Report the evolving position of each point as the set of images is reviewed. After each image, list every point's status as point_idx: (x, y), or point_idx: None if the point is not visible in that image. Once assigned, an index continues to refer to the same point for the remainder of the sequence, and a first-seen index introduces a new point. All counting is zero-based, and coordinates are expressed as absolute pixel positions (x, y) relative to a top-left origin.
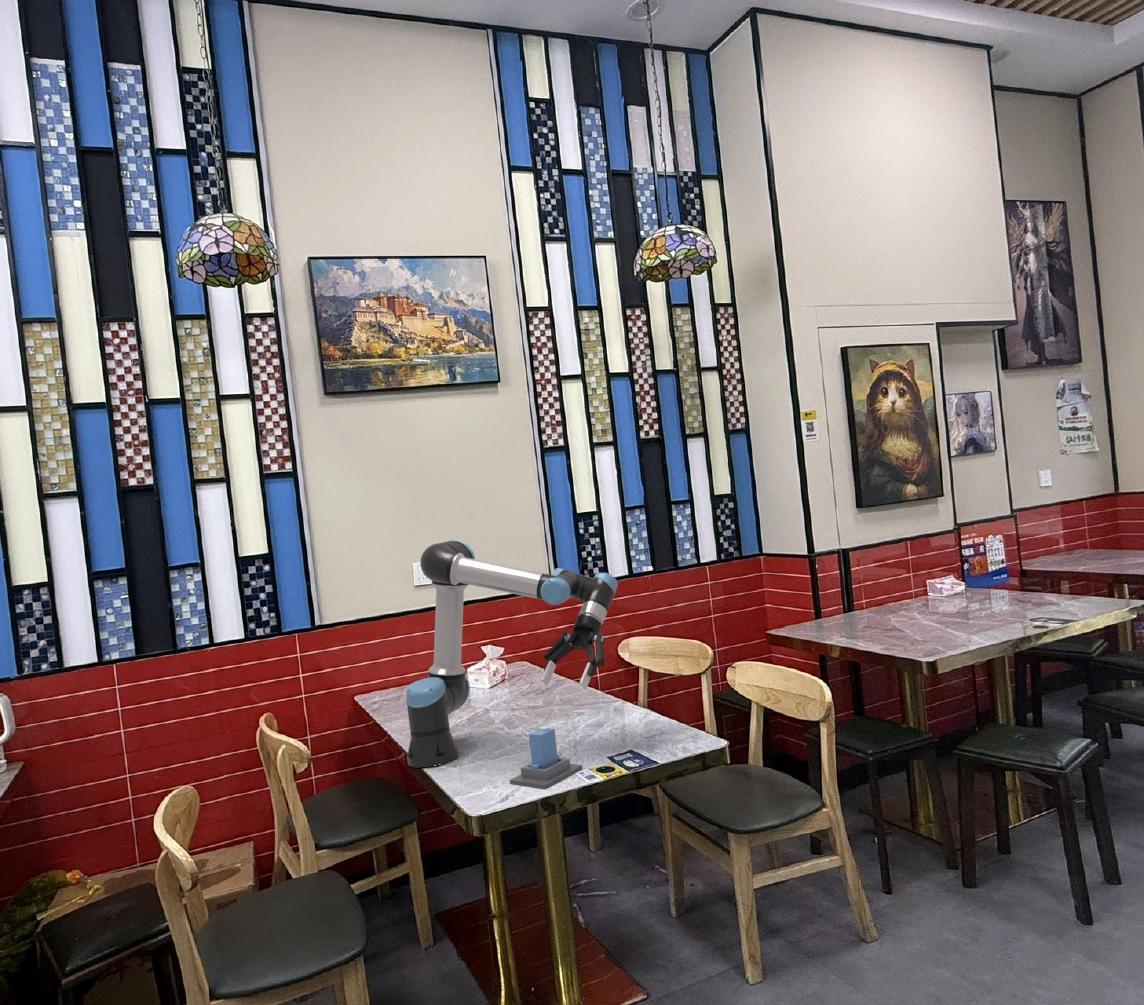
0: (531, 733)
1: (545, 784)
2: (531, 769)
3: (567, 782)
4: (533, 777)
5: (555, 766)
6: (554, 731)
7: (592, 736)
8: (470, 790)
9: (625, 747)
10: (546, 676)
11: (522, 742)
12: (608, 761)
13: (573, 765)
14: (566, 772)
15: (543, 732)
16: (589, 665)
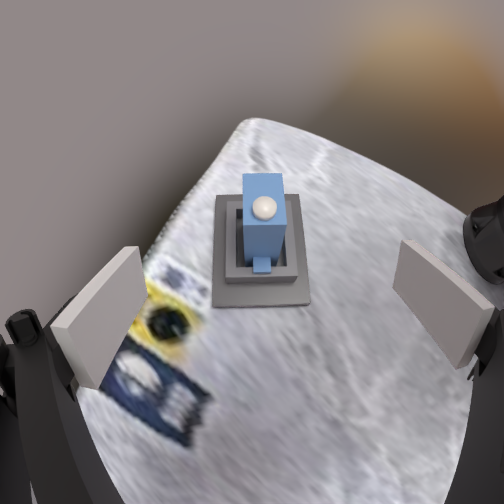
0: (278, 178)
1: (217, 198)
2: None
3: (200, 240)
4: None
5: (226, 231)
6: (243, 227)
7: (339, 487)
8: (336, 164)
9: (210, 458)
10: (415, 267)
11: (451, 385)
12: (189, 369)
13: (230, 297)
14: (217, 258)
15: (251, 192)
16: (62, 317)
